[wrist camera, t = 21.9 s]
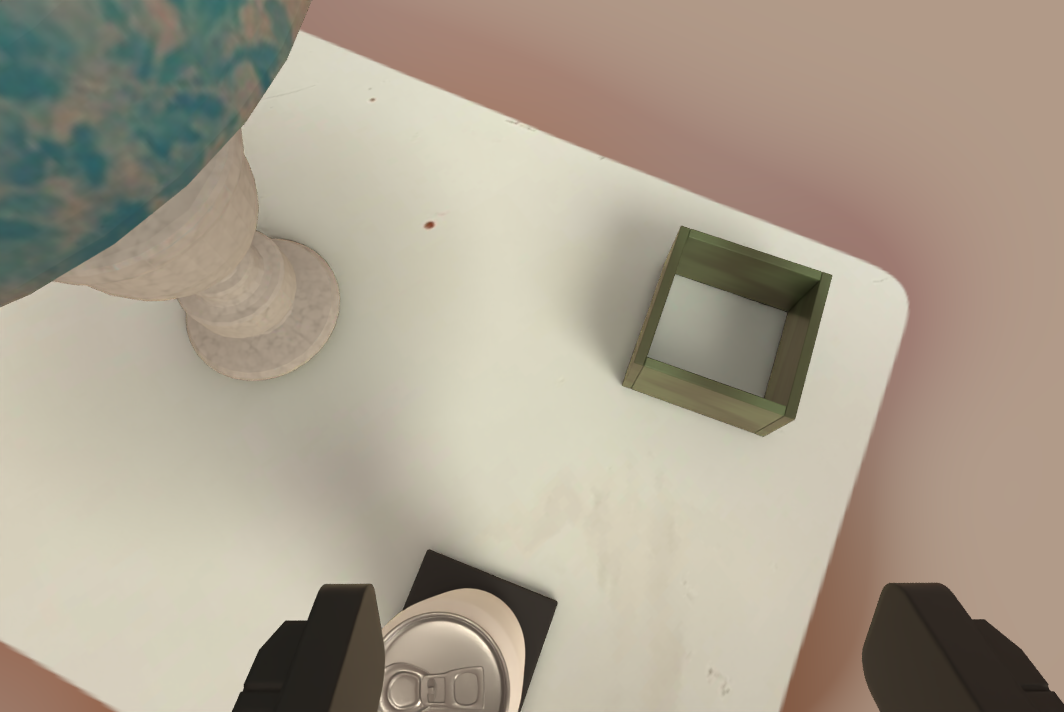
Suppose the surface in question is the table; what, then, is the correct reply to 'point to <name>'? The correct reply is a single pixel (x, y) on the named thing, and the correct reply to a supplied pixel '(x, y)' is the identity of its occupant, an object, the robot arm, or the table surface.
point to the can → (453, 656)
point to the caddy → (751, 279)
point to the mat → (524, 603)
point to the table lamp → (154, 170)
